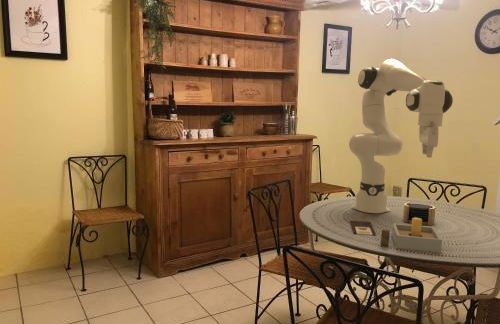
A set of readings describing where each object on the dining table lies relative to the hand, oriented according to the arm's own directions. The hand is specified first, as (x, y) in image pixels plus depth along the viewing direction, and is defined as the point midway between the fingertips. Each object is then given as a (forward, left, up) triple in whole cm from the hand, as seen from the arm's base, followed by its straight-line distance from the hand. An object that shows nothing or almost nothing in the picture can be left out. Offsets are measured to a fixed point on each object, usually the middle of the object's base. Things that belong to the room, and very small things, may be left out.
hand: (426, 155), depth 169 cm
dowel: (+10, -3, -34) cm, 36 cm away
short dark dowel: (+16, -15, -34) cm, 40 cm away
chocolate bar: (-3, -23, -35) cm, 42 cm away
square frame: (+10, -3, -34) cm, 36 cm away
